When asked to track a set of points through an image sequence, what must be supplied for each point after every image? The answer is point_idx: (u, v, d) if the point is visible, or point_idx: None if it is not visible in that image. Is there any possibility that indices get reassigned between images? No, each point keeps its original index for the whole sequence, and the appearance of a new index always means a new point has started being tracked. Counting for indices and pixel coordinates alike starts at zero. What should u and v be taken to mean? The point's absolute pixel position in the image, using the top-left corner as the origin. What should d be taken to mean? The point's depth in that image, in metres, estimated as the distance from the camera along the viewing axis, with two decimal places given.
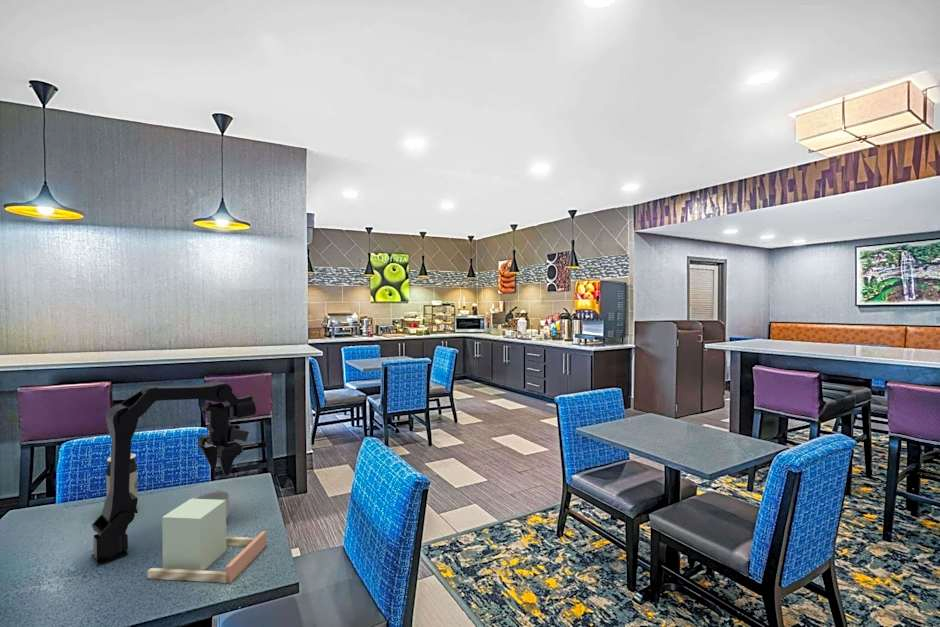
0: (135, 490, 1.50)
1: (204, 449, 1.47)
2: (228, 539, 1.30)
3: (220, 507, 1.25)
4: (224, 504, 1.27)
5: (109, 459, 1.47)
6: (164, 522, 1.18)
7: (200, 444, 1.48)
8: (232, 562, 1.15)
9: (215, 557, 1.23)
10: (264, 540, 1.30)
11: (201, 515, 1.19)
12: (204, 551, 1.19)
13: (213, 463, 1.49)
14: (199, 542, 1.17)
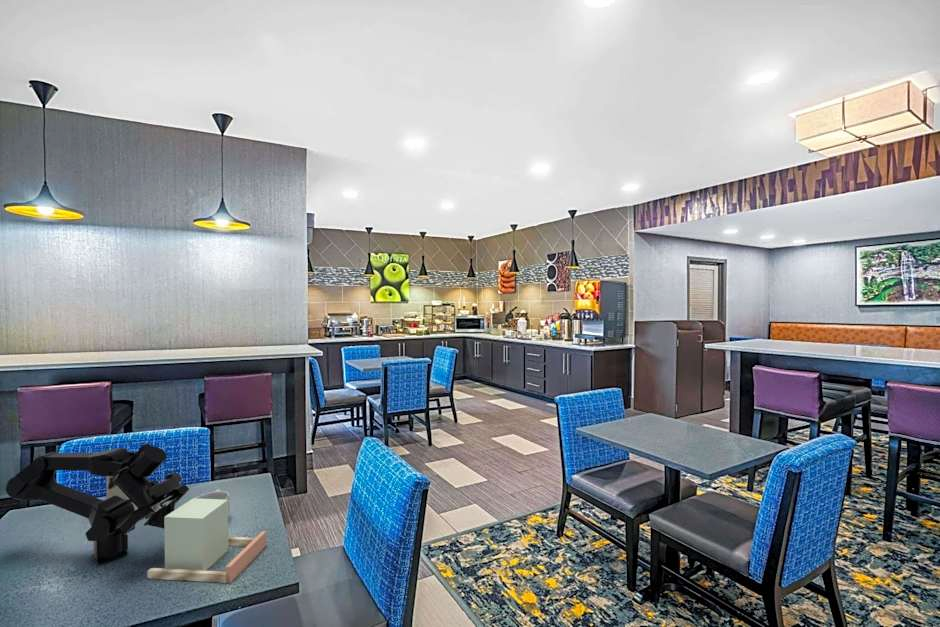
0: None
1: None
2: (228, 539, 1.30)
3: (222, 507, 1.25)
4: (226, 504, 1.27)
5: None
6: (166, 522, 1.18)
7: None
8: (232, 562, 1.15)
9: (217, 557, 1.23)
10: (264, 540, 1.30)
11: (204, 515, 1.18)
12: (206, 551, 1.19)
13: None
14: (201, 542, 1.17)
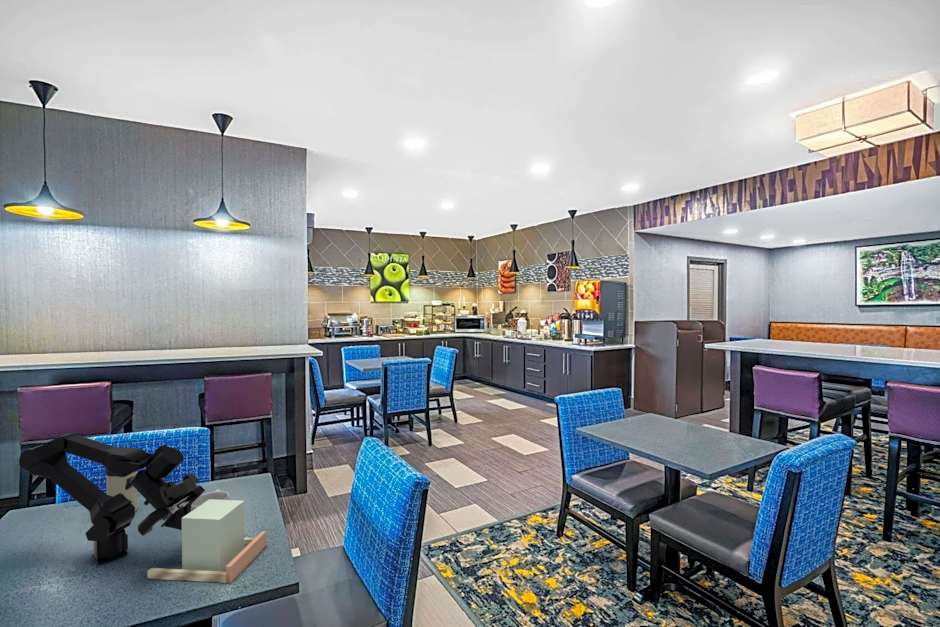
0: (135, 490, 1.50)
1: None
2: None
3: (239, 508, 1.25)
4: (242, 505, 1.27)
5: None
6: (184, 523, 1.17)
7: None
8: (232, 562, 1.15)
9: None
10: (264, 540, 1.30)
11: (221, 516, 1.18)
12: (223, 553, 1.18)
13: None
14: (219, 543, 1.17)
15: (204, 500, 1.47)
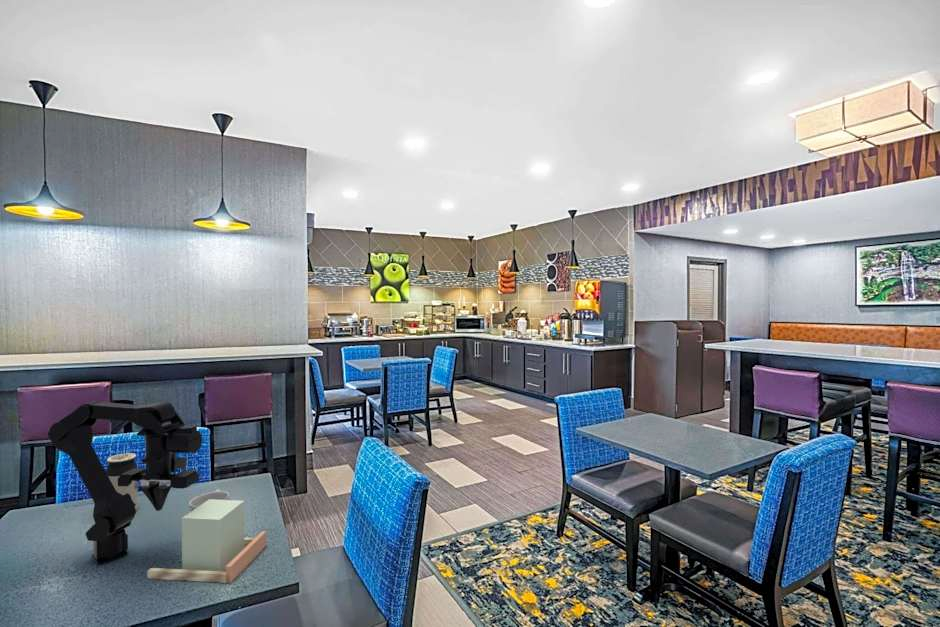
0: (135, 490, 1.50)
1: (149, 489, 1.21)
2: None
3: (239, 508, 1.25)
4: (242, 505, 1.27)
5: (109, 459, 1.47)
6: (184, 523, 1.17)
7: (125, 483, 1.21)
8: (232, 562, 1.15)
9: None
10: (264, 540, 1.30)
11: (221, 516, 1.18)
12: (223, 553, 1.18)
13: None
14: (219, 543, 1.17)
15: (204, 500, 1.47)
